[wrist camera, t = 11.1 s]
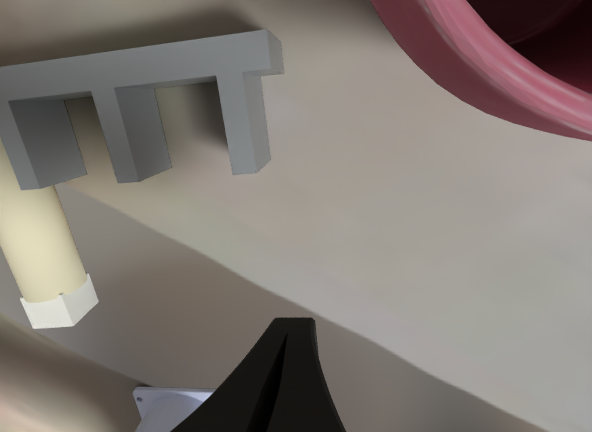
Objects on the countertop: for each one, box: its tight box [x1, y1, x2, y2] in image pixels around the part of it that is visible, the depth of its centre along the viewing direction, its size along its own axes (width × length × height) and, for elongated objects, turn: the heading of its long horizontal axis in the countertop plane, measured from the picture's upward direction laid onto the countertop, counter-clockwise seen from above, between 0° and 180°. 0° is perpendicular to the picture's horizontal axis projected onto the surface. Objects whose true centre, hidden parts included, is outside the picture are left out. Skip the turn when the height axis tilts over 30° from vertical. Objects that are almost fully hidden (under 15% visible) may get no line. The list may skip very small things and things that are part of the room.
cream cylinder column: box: [0, 138, 98, 329], centre depth 21 cm, size 13×4×4 cm, turn 6°
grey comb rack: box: [0, 29, 284, 190], centre depth 18 cm, size 6×22×4 cm, turn 96°
